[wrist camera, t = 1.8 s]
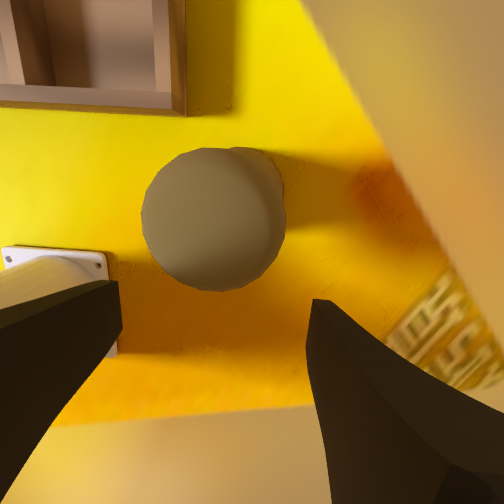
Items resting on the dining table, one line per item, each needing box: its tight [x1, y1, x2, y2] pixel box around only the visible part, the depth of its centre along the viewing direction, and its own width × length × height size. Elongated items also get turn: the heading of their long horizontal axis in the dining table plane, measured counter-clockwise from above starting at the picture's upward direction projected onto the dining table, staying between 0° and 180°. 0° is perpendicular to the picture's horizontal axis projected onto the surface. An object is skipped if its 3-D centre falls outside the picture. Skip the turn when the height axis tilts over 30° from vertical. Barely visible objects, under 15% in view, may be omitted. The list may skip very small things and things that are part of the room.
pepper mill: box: [141, 147, 286, 292], centre depth 14 cm, size 6×6×11 cm
